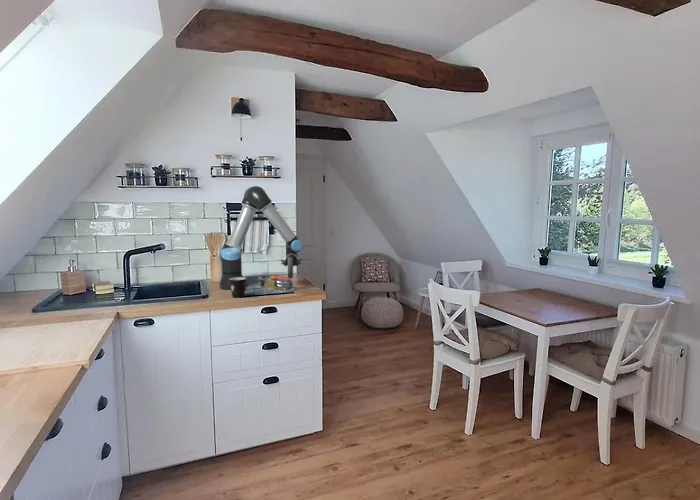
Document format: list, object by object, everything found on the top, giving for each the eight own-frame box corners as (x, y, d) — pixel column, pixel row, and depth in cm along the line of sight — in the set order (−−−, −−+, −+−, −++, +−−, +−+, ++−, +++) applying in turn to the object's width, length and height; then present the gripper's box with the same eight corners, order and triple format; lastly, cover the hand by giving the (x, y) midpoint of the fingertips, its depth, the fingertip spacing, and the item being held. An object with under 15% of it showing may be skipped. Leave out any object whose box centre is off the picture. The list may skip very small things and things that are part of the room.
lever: (269, 279, 242) (268, 256, 241) (273, 277, 246) (272, 255, 245) (291, 280, 238) (290, 257, 236) (294, 279, 242) (294, 256, 241)
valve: (255, 287, 248) (254, 276, 247) (268, 284, 256) (267, 274, 255) (282, 292, 233) (281, 281, 232) (294, 289, 241) (294, 278, 240)
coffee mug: (229, 295, 226) (228, 278, 225) (244, 294, 230) (244, 276, 228) (232, 300, 215) (231, 281, 214) (249, 298, 219) (248, 280, 218)
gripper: (301, 265, 266) (302, 271, 243) (281, 266, 264) (279, 272, 241) (301, 254, 265) (301, 259, 242) (281, 254, 263) (279, 259, 240)
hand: (290, 265), depth 241 cm, fingers closed
